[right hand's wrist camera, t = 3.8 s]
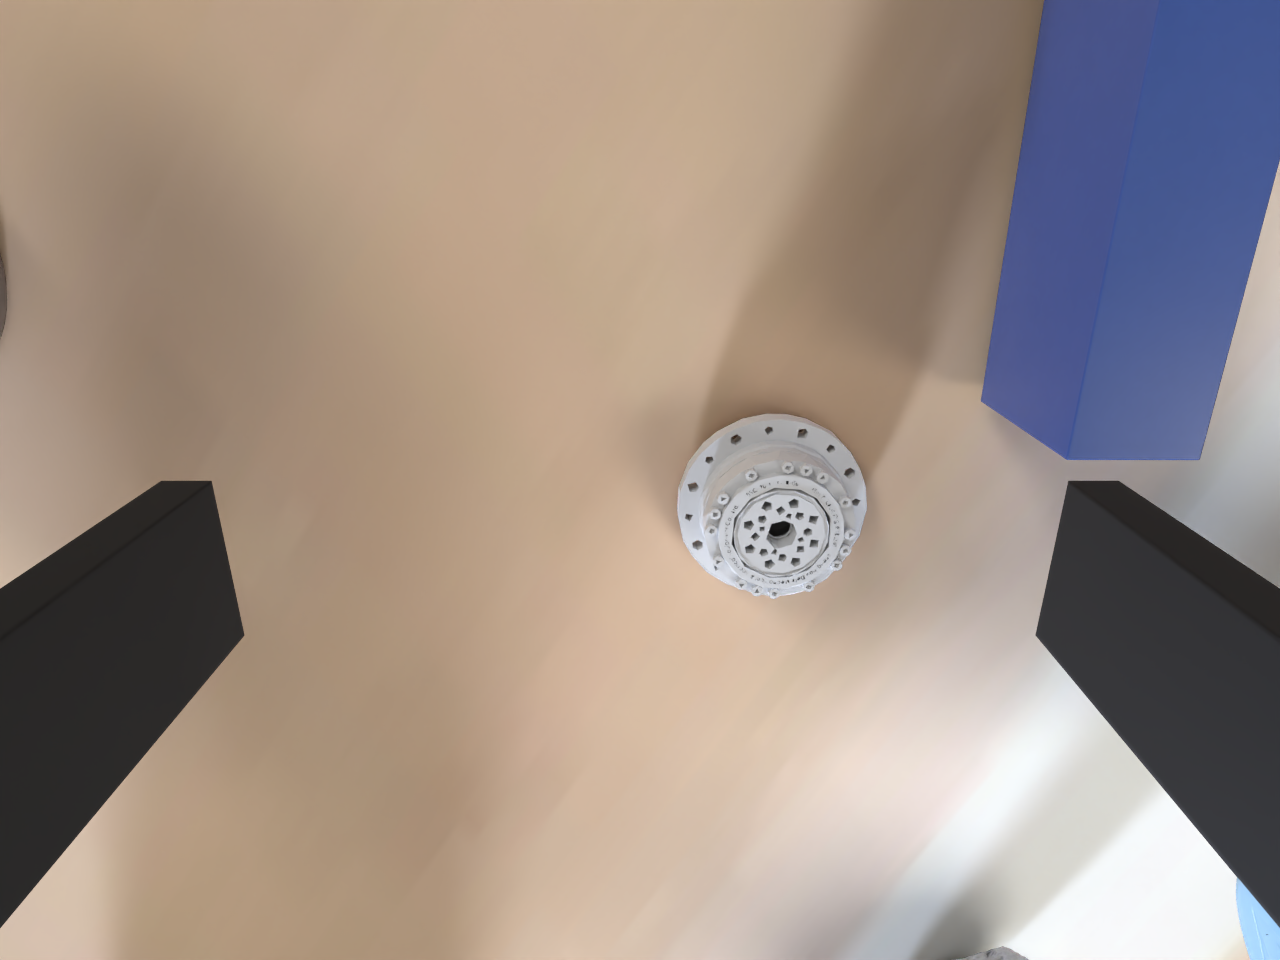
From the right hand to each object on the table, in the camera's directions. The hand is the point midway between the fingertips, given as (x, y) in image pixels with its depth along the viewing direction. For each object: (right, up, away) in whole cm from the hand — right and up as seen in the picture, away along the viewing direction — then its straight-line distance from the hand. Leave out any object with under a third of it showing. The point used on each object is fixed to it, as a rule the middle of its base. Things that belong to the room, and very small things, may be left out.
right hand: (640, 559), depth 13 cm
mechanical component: (+7, 0, +31) cm, 32 cm away
